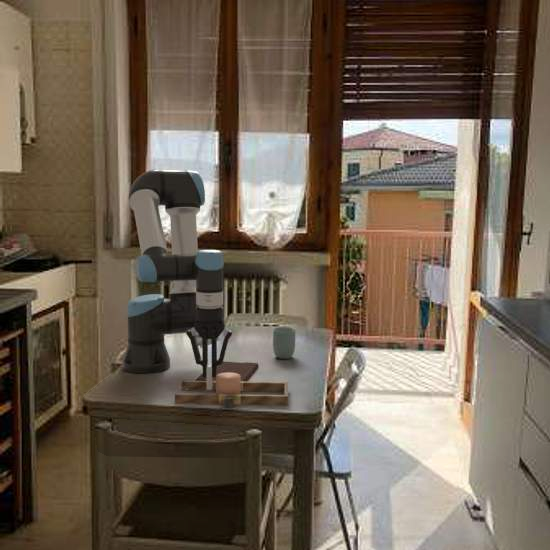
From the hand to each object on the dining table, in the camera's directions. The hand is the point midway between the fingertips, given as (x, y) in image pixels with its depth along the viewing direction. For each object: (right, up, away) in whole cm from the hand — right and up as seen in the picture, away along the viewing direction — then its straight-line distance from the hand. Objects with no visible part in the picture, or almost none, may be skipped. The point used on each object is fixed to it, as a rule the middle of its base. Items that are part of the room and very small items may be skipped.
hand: (209, 388), depth 171 cm
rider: (+5, -3, 0) cm, 6 cm away
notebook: (+4, 0, +20) cm, 21 cm away
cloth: (-9, +6, +64) cm, 65 cm away
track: (+7, -3, -1) cm, 7 cm away
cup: (+21, +3, +40) cm, 45 cm away
